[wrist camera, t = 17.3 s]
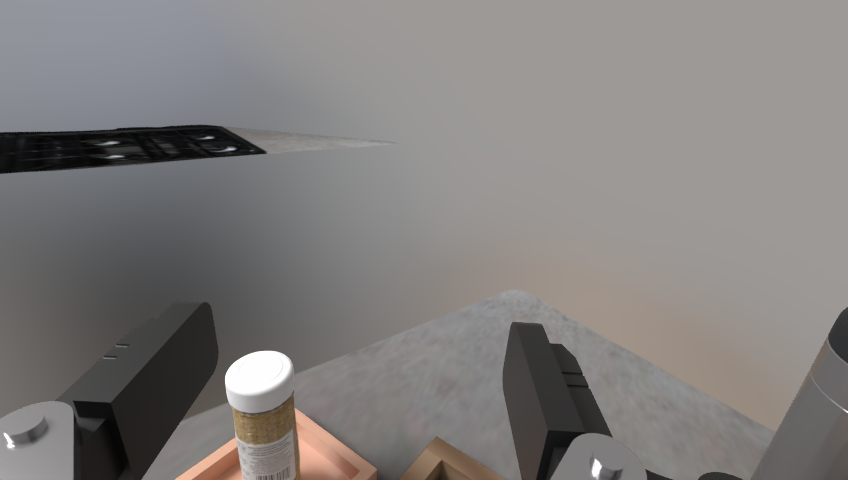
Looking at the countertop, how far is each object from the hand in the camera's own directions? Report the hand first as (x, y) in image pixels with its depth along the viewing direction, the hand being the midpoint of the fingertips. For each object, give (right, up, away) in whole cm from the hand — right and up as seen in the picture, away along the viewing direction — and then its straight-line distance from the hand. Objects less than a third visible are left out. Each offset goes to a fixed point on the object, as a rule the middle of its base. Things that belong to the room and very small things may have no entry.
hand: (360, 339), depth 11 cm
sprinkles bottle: (-11, -19, +24) cm, 32 cm away
